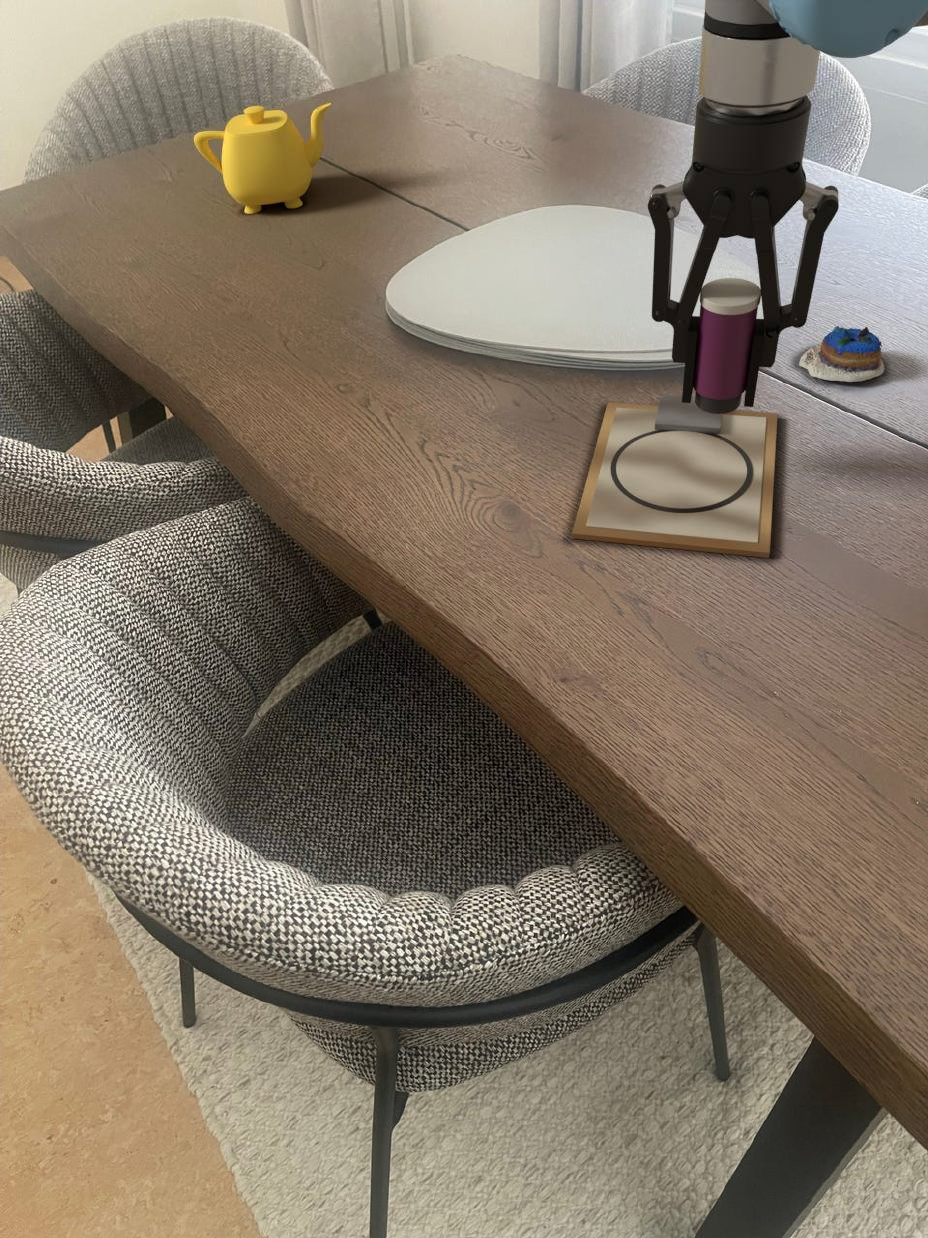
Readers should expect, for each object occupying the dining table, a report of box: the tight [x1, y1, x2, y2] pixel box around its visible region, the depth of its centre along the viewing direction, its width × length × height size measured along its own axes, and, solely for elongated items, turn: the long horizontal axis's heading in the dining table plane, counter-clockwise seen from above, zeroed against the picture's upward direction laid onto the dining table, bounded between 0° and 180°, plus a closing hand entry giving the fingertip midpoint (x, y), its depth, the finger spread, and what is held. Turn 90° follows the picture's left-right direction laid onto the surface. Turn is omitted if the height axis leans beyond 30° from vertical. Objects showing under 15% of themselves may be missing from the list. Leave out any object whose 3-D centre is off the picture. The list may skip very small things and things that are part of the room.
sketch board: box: [571, 394, 779, 559], centre depth 83 cm, size 21×16×1 cm
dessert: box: [798, 325, 885, 383], centre depth 93 cm, size 8×7×6 cm
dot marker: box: [693, 277, 762, 414], centre depth 76 cm, size 5×5×10 cm
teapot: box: [193, 102, 332, 215], centre depth 134 cm, size 13×20×12 cm
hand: (718, 395), depth 79 cm, fingers closed on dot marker, 4 cm apart
